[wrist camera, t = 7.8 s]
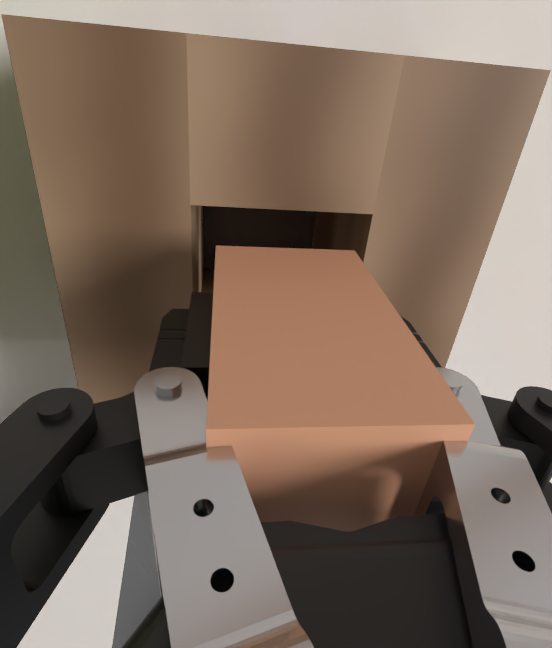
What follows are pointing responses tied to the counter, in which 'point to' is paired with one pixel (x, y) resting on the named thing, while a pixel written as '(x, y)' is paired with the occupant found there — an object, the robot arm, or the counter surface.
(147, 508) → the panel
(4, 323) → the counter surface
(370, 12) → the counter surface
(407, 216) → the hole block
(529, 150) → the counter surface
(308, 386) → the peg
